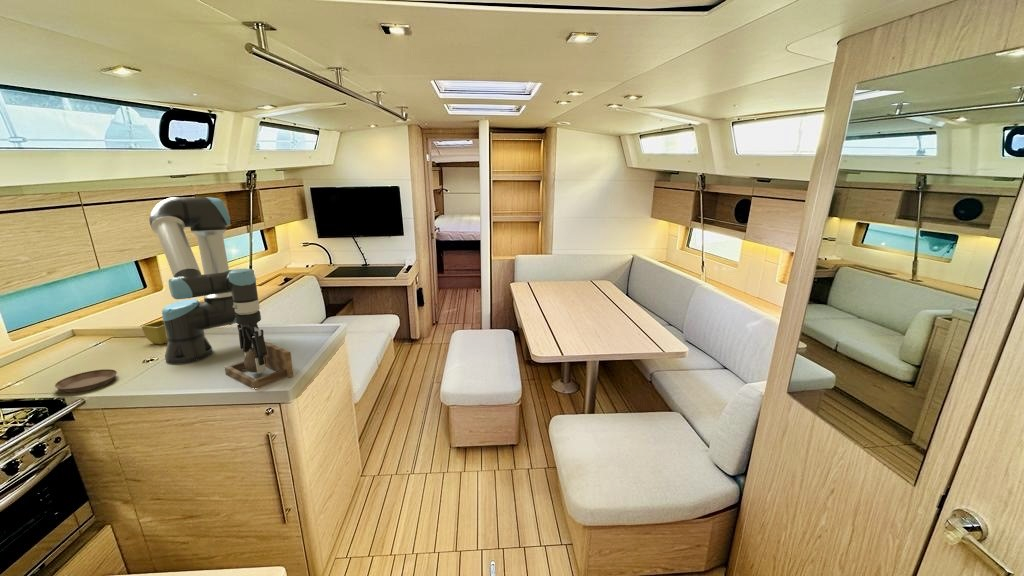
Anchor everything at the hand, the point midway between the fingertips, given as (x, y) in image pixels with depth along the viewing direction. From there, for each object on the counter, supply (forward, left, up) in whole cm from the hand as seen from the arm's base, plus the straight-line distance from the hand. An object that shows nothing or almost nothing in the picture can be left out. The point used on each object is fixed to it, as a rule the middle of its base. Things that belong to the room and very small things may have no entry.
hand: (256, 369), depth 143 cm
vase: (0, 0, 0) cm, 0 cm away
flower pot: (-68, -6, -3) cm, 68 cm away
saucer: (-41, -35, -3) cm, 54 cm away
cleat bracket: (0, +1, -2) cm, 2 cm away
